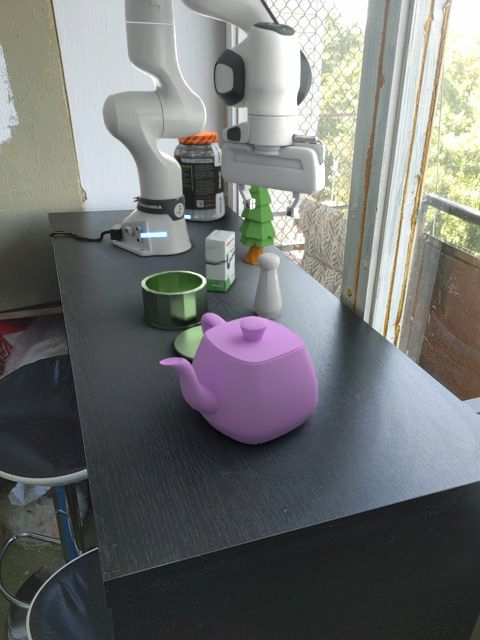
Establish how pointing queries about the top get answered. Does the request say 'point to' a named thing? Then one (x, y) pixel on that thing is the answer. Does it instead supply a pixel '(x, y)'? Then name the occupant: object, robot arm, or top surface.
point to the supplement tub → (201, 176)
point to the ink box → (220, 260)
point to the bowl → (174, 299)
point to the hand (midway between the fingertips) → (270, 212)
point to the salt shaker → (268, 287)
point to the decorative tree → (257, 225)
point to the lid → (188, 342)
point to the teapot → (249, 378)
